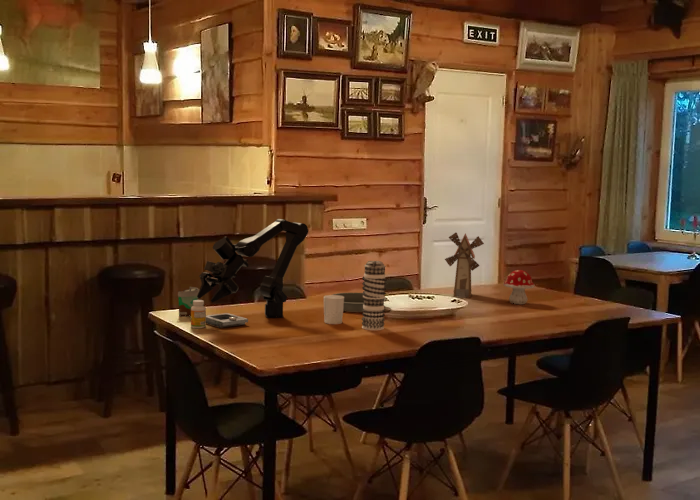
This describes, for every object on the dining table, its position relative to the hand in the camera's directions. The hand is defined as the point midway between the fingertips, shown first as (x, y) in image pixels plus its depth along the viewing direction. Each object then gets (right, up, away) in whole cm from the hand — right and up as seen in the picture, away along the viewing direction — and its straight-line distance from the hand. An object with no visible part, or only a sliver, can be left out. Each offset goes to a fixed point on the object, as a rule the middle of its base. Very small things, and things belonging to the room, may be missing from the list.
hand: (204, 299), depth 302 cm
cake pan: (+56, -7, +47) cm, 73 cm away
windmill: (+106, -3, +83) cm, 134 cm away
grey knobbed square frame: (+6, -9, +7) cm, 13 cm away
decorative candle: (+62, -11, +6) cm, 63 cm away
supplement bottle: (-2, -10, -1) cm, 10 cm away
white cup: (+47, -10, +14) cm, 50 cm away
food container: (-9, -7, +21) cm, 24 cm away
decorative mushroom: (+128, -6, +67) cm, 145 cm away
